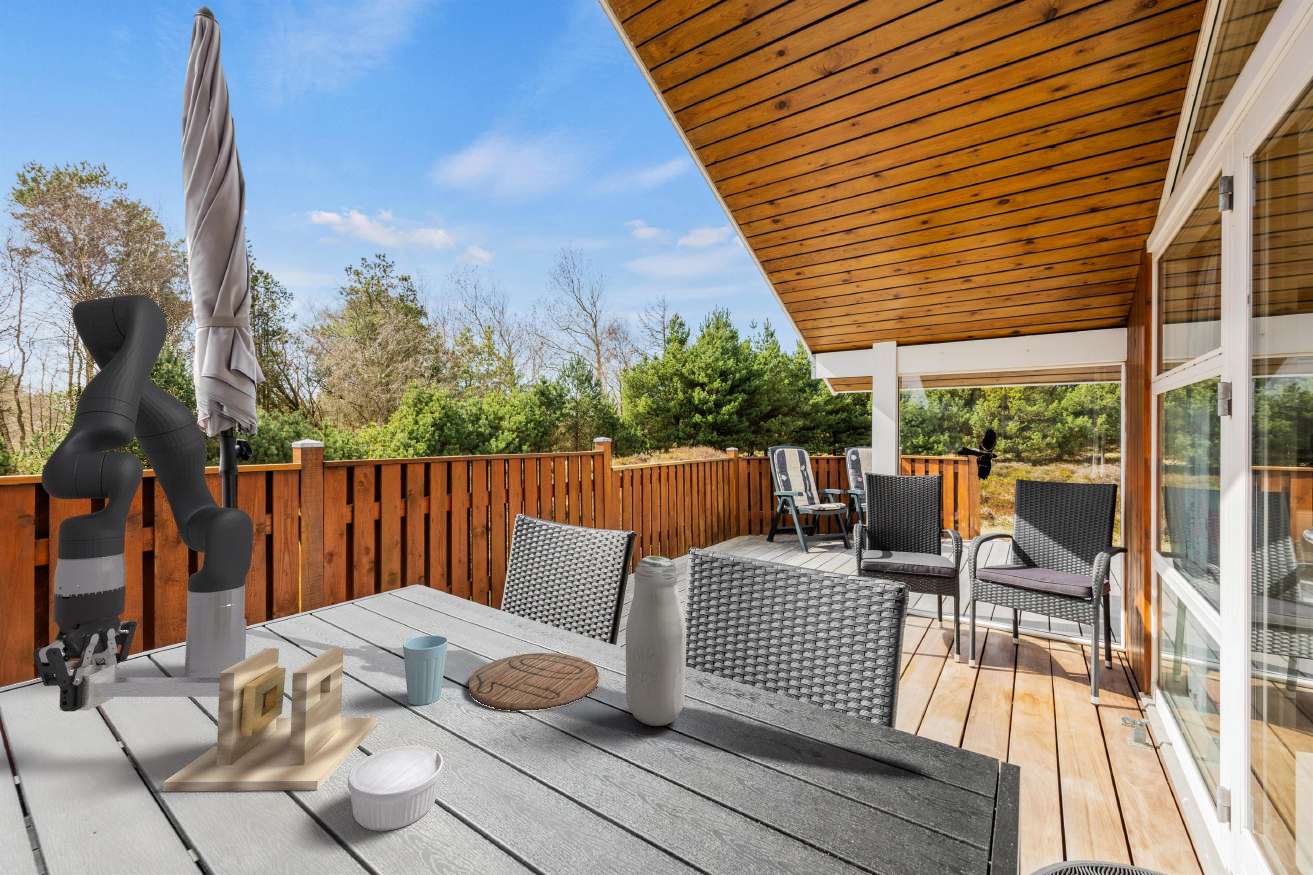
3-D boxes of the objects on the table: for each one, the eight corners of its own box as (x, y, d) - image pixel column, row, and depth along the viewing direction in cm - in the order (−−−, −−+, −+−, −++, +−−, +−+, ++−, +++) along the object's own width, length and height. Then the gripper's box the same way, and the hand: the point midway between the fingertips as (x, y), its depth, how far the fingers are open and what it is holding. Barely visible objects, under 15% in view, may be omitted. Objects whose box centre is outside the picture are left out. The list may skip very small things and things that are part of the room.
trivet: (555, 725, 96) (555, 713, 96) (439, 699, 105) (439, 688, 105) (619, 672, 119) (619, 663, 119) (519, 654, 128) (519, 646, 128)
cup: (448, 687, 109) (449, 633, 109) (445, 705, 102) (446, 646, 102) (405, 692, 107) (406, 636, 107) (399, 710, 99) (400, 650, 100)
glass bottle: (692, 714, 99) (694, 554, 100) (669, 741, 90) (671, 564, 91) (641, 703, 104) (644, 549, 104) (614, 727, 94) (617, 558, 95)
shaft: (59, 710, 81) (60, 675, 82) (86, 698, 85) (87, 664, 86) (245, 709, 83) (246, 675, 83) (263, 697, 87) (264, 664, 87)
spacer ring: (240, 735, 81) (244, 685, 81) (271, 712, 88) (275, 667, 88) (251, 735, 81) (256, 686, 81) (281, 713, 88) (285, 667, 88)
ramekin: (434, 832, 68) (435, 787, 68) (332, 843, 66) (334, 797, 66) (448, 779, 79) (449, 741, 79) (361, 787, 77) (363, 748, 77)
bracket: (162, 791, 75) (166, 684, 75) (253, 725, 93) (256, 639, 93) (317, 789, 76) (320, 684, 76) (377, 725, 94) (380, 639, 94)
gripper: (109, 575, 91) (105, 683, 90) (12, 598, 77) (7, 726, 76) (157, 575, 91) (154, 683, 91) (69, 598, 77) (65, 726, 77)
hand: (86, 702), depth 83 cm, fingers closed on shaft, 4 cm apart
